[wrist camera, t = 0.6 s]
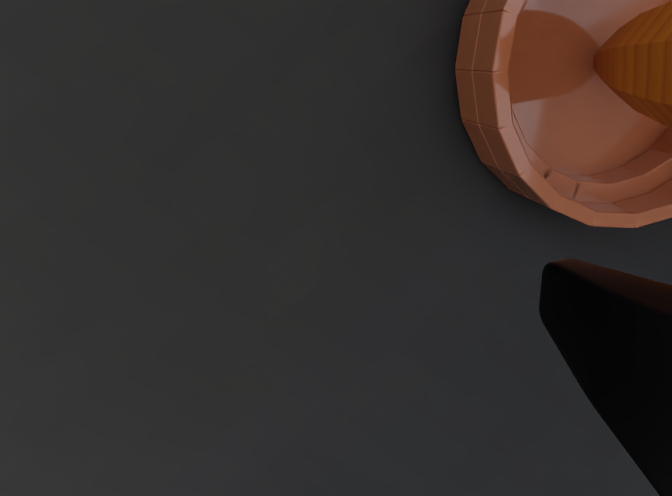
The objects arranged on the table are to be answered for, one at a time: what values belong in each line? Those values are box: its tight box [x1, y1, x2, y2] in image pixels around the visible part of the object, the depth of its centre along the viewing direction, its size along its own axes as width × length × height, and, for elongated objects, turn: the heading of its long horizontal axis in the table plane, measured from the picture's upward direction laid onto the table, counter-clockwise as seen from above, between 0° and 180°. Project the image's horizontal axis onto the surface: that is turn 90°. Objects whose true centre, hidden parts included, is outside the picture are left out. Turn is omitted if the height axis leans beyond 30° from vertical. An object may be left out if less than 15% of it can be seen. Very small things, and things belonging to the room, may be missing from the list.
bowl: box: [455, 0, 672, 228], centre depth 22 cm, size 12×12×4 cm
